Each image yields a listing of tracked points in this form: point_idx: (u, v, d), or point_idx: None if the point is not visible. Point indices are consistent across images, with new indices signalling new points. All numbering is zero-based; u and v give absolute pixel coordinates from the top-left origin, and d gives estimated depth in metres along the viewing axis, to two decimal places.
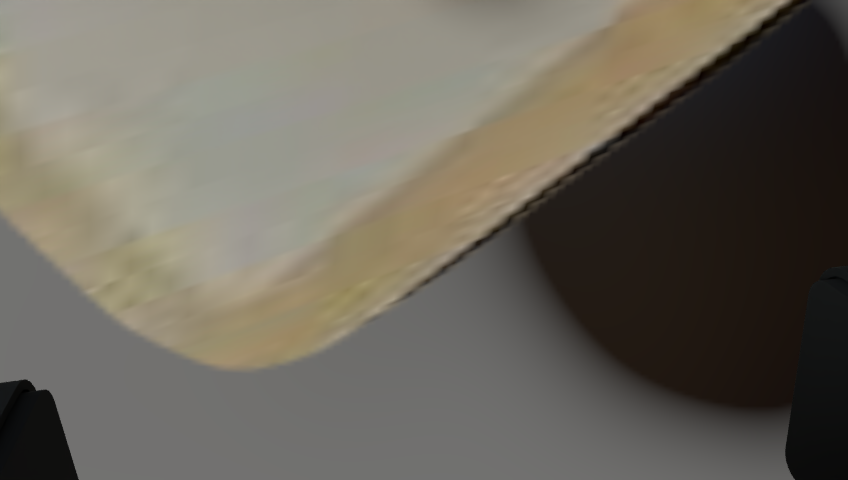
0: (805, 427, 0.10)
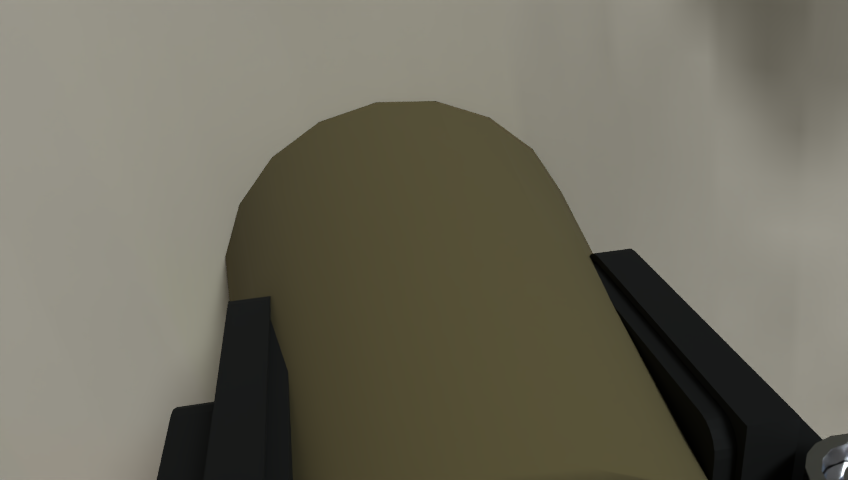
0: None
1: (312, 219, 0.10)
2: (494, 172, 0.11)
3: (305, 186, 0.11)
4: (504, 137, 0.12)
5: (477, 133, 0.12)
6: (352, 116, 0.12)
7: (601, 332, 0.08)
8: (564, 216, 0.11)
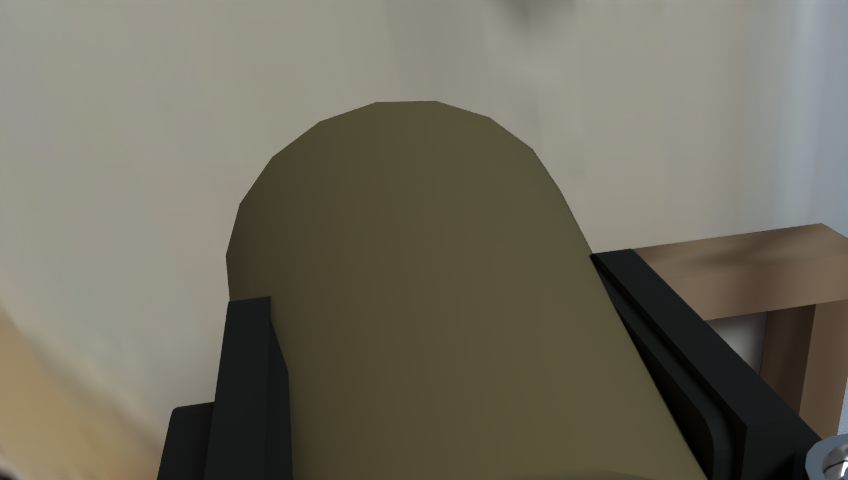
0: None
1: (312, 219, 0.10)
2: (495, 172, 0.11)
3: (305, 186, 0.11)
4: (504, 137, 0.12)
5: (477, 133, 0.12)
6: (352, 116, 0.12)
7: (601, 331, 0.08)
8: (564, 216, 0.11)
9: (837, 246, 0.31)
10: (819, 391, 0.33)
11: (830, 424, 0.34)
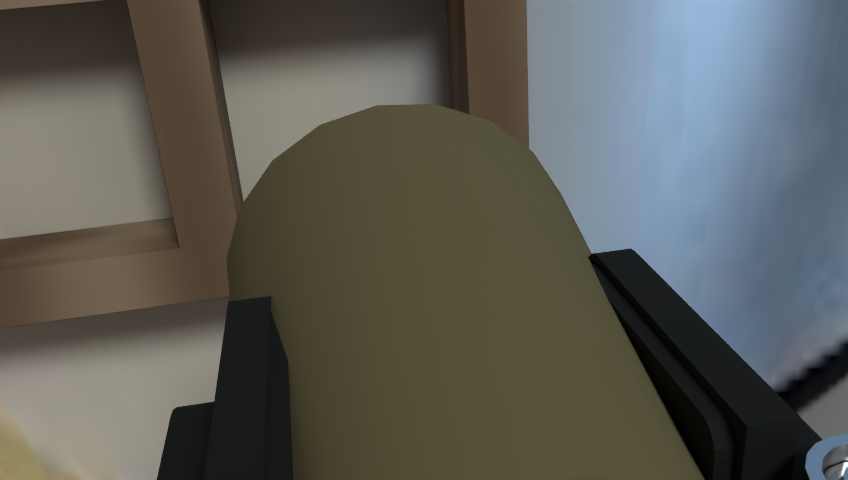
0: None
1: (312, 222, 0.10)
2: (495, 175, 0.11)
3: (306, 189, 0.11)
4: (504, 140, 0.12)
5: (477, 136, 0.12)
6: (352, 119, 0.12)
7: (601, 337, 0.08)
8: (564, 219, 0.11)
9: None
10: (492, 104, 0.26)
11: None
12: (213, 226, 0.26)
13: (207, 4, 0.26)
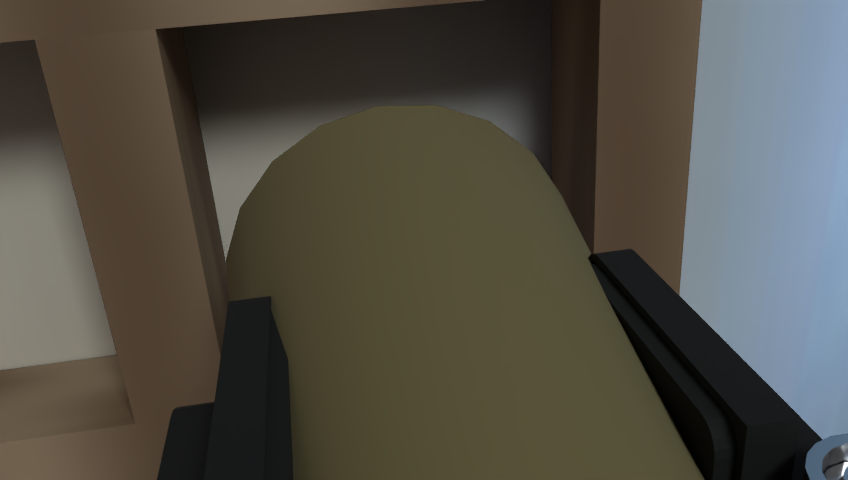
0: None
1: (313, 223, 0.10)
2: (495, 176, 0.11)
3: (305, 190, 0.11)
4: (504, 141, 0.12)
5: (477, 137, 0.12)
6: (352, 120, 0.12)
7: (601, 338, 0.08)
8: (564, 220, 0.11)
9: None
10: (631, 203, 0.16)
11: None
12: (187, 391, 0.17)
13: (181, 41, 0.16)
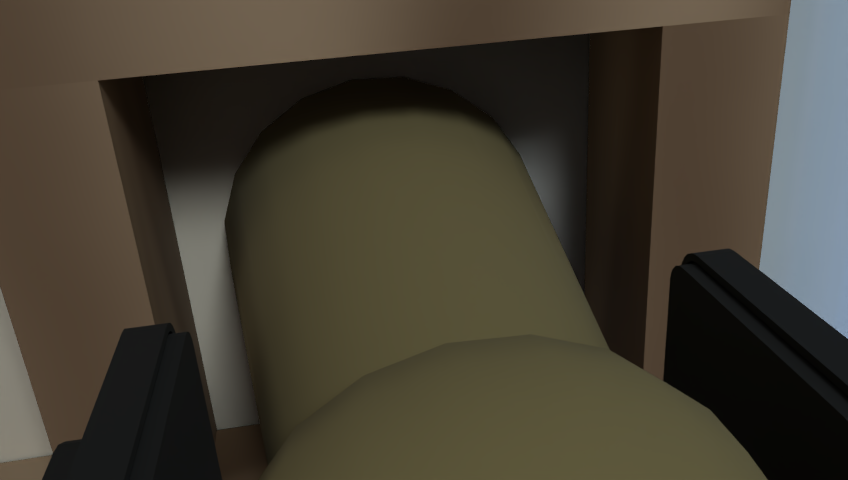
0: None
1: (295, 177, 0.12)
2: (451, 133, 0.12)
3: (289, 152, 0.13)
4: (464, 106, 0.14)
5: (439, 103, 0.14)
6: (330, 92, 0.14)
7: (530, 253, 0.10)
8: (513, 169, 0.13)
9: None
10: None
11: None
12: None
13: (139, 87, 0.13)
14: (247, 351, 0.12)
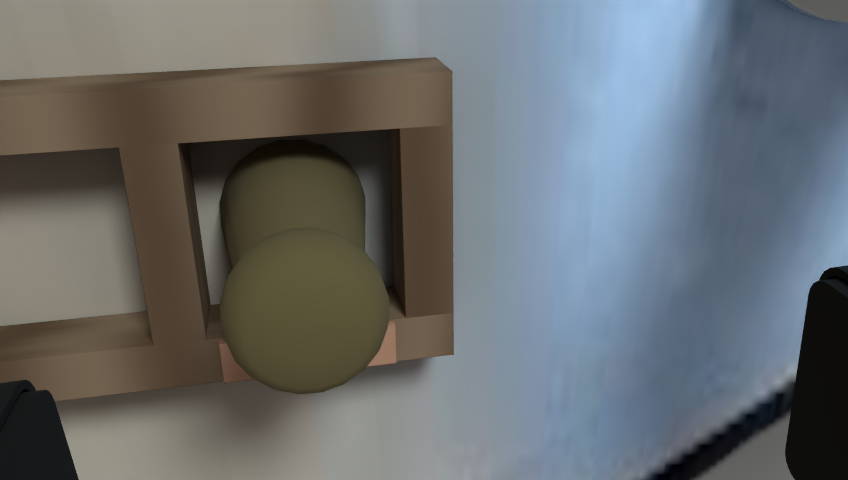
0: (805, 427, 0.10)
1: (251, 182, 0.29)
2: (317, 166, 0.30)
3: (250, 172, 0.30)
4: (329, 153, 0.32)
5: (316, 152, 0.31)
6: (269, 145, 0.31)
7: (333, 211, 0.27)
8: (343, 182, 0.30)
9: (425, 68, 0.29)
10: (423, 233, 0.31)
11: (442, 274, 0.32)
12: (183, 328, 0.31)
13: None
14: (229, 250, 0.29)
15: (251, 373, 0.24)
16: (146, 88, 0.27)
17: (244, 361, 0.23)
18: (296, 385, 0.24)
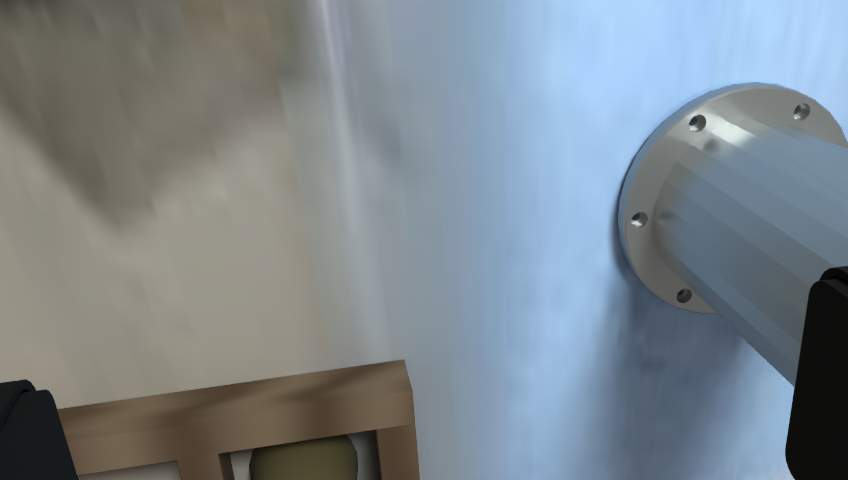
0: (804, 426, 0.10)
1: (270, 470, 0.41)
2: (318, 453, 0.41)
3: (269, 456, 0.42)
4: None
5: None
6: None
7: None
8: (337, 463, 0.41)
9: (393, 384, 0.40)
10: None
11: None
12: None
13: None
14: None
15: None
16: (194, 422, 0.39)
17: None
18: None
